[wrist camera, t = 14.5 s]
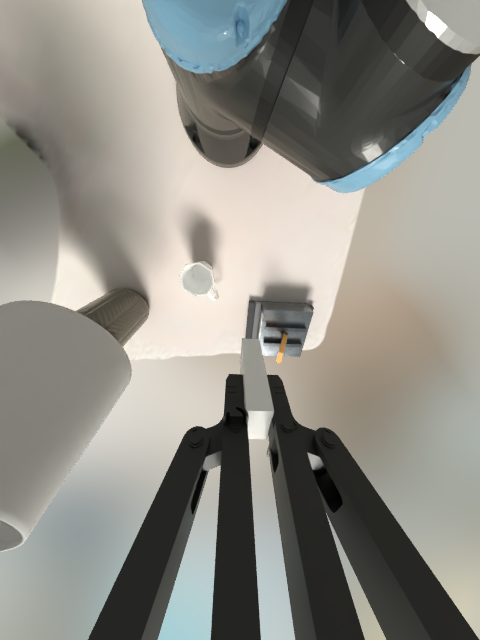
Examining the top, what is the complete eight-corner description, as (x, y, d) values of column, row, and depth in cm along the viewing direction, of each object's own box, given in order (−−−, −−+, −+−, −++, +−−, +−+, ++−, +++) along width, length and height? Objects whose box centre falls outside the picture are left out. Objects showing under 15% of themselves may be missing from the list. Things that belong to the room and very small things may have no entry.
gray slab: (249, 300, 46) (249, 302, 45) (260, 301, 46) (261, 303, 45) (245, 343, 53) (245, 346, 52) (255, 344, 53) (255, 347, 52)
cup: (206, 248, 40) (200, 254, 33) (230, 285, 44) (229, 297, 37) (182, 264, 41) (171, 273, 34) (207, 298, 46) (202, 313, 39)
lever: (284, 331, 44) (277, 351, 37) (288, 332, 44) (283, 353, 37) (281, 341, 46) (275, 362, 39) (286, 342, 45) (281, 364, 38)
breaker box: (260, 301, 46) (264, 311, 41) (306, 303, 47) (315, 314, 41) (255, 344, 53) (257, 358, 48) (294, 345, 54) (301, 359, 48)
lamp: (185, 323, 49) (72, 552, 15) (125, 346, 52) (-77, 575, 18) (138, 251, 40) (-435, 433, 6) (69, 285, 43) (-549, 523, 9)
